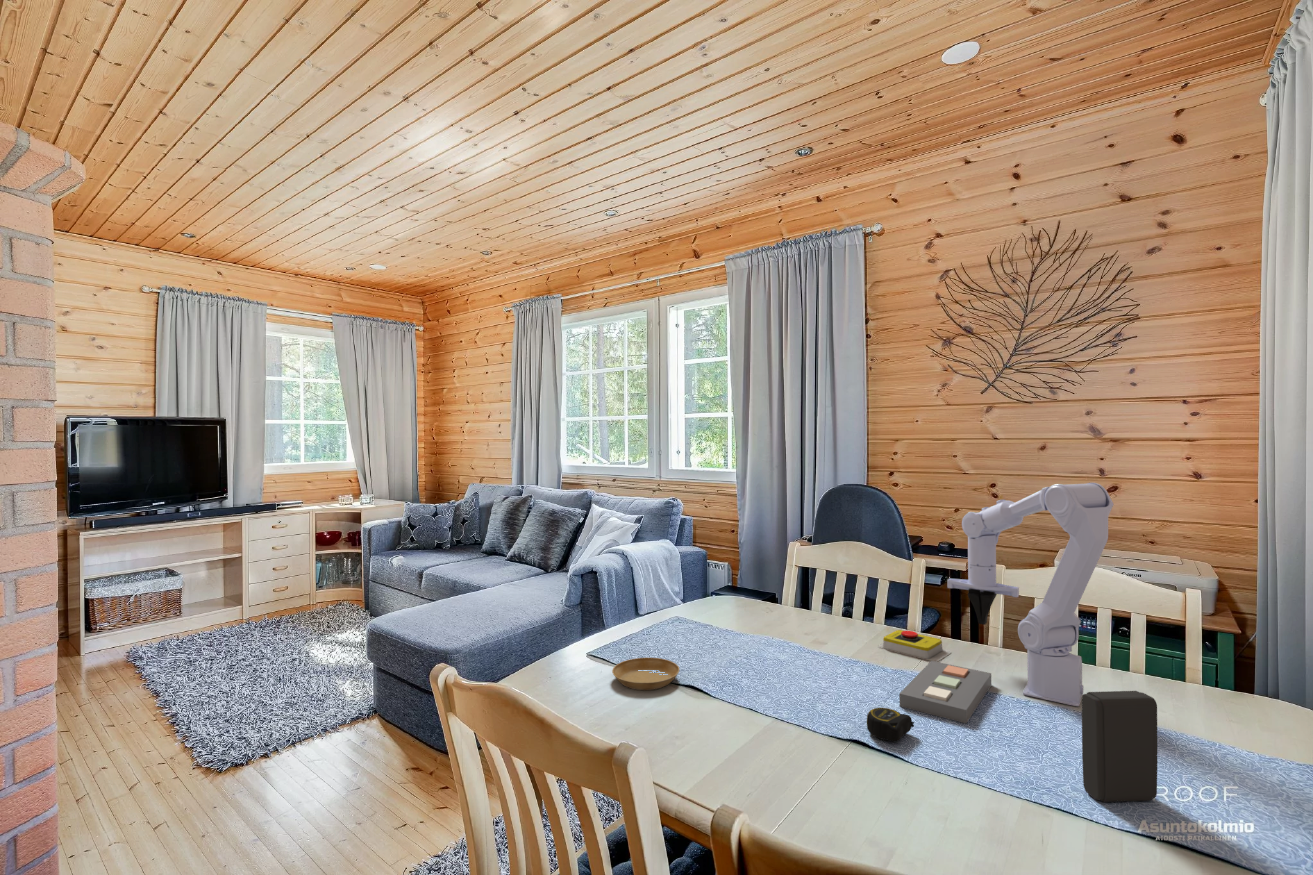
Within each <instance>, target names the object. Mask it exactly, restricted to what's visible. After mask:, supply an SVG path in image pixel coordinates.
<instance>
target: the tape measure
mask: <svg viewBox="0 0 1313 875" xmlns="http://www.w3.org/2000/svg"><path fill="white" fill-rule="evenodd" d="M914 724H915V722H914V721H913V719H912V717H911V715H910V714H909V715H908V714H905V713H900V712H899V711H897V710H895V709H892V708H888V707H874V708H872V709H871V710H869V711H868V713H867V715H866V729H867V731H868V733H870V734H871V736H874V737H875V738H878V739H881V740H886V741H889V742H899V741H900V740H901V739H902V738H903V737H904V736H905V735H906V734H907V733H909V732H910V731H911V730H912V728H914V727H915V725H914Z"/></svg>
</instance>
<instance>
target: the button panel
mask: <svg viewBox="0 0 1313 875" xmlns="http://www.w3.org/2000/svg"><path fill="white" fill-rule="evenodd" d="M948 665H950V666H954V667H959V668H964V669H968V675H967V677H966V678H961V677H956V676H952V675H947V674H943V670H944V669H945V668H946V667H947V666H948ZM939 675H941V676H945V677H950V678H954V679H959V680H960V686H959V687H958V688H957V689H952V688H948V687H943V686H939V685H935V684H934V681H935V680H936V678H937V677H938V676H939ZM929 686H932V687H936V688H940V689H945V690H949V691H951V697H950V699H949V700H948V701H943V700H939V699H934V698H930V697H926V696H924V692H925V691H926V690H927V689H928V687H929ZM991 687H992V673H991V672H988V671H987V672H986V671H982V670H977V669H972V668H967V667H963V666H959V665H954V664H949V663H944V662H940V661H938V662H935V661H929V663H928V664H927V665H926V666H925V667H923V669H921V671H920V672H919V673H917V675H916V676H915V677H914V678H913V679H912V680H910V682H908V684H907V685H906V686H905V687H904V688H903V689H902V690H901V691H900V692H899V695H898V696H899V707H902V708H905V709H909V710H912V711H916V712H921V713H924V714H929V715H931V716H932V715H933V716H935V717H936V716H937V717H941V718H943V719H948V720H951V721H956V722H959V723H963V724H968V722H969V721H970V719H971V717H972V716H973V714H974V713H975V712H976V710H977V708H978V706H979V705H980V703H981V702H982V700H984V697H985V696H986V695H987V693H988V691H989V690H990V688H991Z"/></svg>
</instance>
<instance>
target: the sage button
mask: <svg viewBox="0 0 1313 875" xmlns="http://www.w3.org/2000/svg"><path fill="white" fill-rule="evenodd" d="M934 684H935V685H939V686H943V687H948V688H952V689H957V688H958V687H959V686H960V680H959V679H954V678H950V677H945V676H941V675H939V676H938V677H937V678H936V680H935V681H934Z"/></svg>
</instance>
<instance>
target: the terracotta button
mask: <svg viewBox="0 0 1313 875" xmlns="http://www.w3.org/2000/svg"><path fill="white" fill-rule="evenodd" d="M950 665H951V664H949V665H948V666H947V667H946V668H945V669H944V670H943V674H947V675H952V676H956V677H961V678H966V677H967V675H968V669H964V668H965V667H964V668H959V667H960V666H959V667H954V666H955V665H954V666H950Z"/></svg>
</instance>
